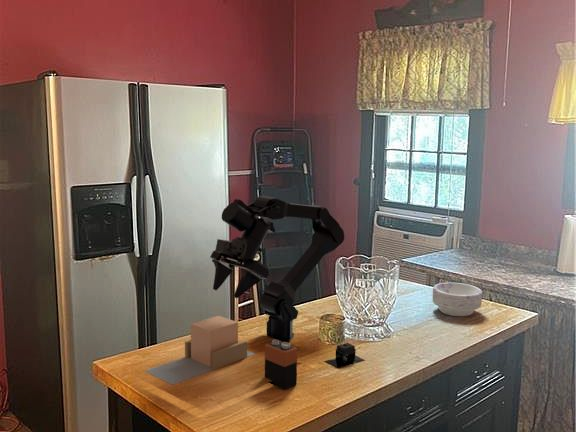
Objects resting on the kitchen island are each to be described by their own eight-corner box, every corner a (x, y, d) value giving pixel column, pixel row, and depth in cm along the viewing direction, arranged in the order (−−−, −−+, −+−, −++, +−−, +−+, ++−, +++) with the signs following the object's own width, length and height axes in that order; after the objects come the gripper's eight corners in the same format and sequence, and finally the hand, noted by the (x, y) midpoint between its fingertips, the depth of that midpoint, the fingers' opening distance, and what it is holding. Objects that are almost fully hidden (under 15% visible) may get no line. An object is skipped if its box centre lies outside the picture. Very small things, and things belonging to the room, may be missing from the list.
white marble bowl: (479, 322, 187) (480, 297, 186) (428, 316, 192) (429, 291, 191) (482, 308, 201) (484, 284, 200) (435, 303, 206) (436, 280, 205)
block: (218, 348, 160) (218, 315, 159) (238, 356, 155) (237, 322, 154) (191, 358, 153) (190, 323, 152) (210, 366, 148) (210, 331, 147)
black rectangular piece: (354, 353, 163) (355, 337, 162) (373, 362, 157) (374, 345, 156) (317, 363, 156) (317, 346, 155) (335, 373, 150) (336, 355, 149)
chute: (227, 347, 165) (226, 328, 164) (255, 358, 157) (255, 338, 156) (144, 375, 146) (144, 354, 145) (172, 389, 138) (172, 367, 138)
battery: (284, 390, 138) (284, 348, 137) (263, 381, 143) (263, 340, 142) (297, 385, 141) (298, 343, 140) (277, 376, 146) (277, 336, 145)
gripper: (209, 220, 163) (182, 273, 159) (253, 230, 149) (224, 288, 145) (238, 239, 170) (212, 290, 166) (282, 250, 156) (255, 306, 152)
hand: (224, 293), depth 157 cm, fingers open, 9 cm apart
